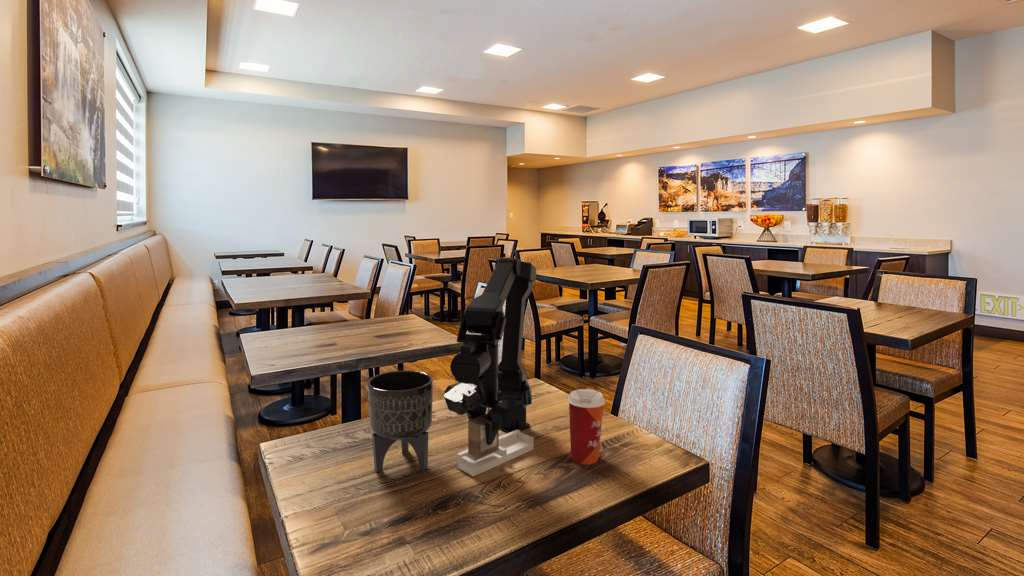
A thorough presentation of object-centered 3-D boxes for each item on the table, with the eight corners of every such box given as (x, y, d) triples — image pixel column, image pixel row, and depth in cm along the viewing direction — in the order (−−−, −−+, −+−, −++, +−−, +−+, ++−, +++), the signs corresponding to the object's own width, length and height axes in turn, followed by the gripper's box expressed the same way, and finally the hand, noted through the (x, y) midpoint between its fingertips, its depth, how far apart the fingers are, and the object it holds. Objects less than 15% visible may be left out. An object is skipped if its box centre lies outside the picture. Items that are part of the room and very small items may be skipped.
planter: (446, 456, 113) (445, 375, 111) (410, 485, 102) (407, 395, 99) (396, 444, 119) (394, 367, 116) (356, 470, 107) (352, 385, 104)
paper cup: (602, 469, 108) (604, 402, 106) (564, 465, 110) (565, 399, 108) (603, 451, 116) (606, 389, 114) (568, 448, 118) (569, 386, 115)
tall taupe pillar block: (478, 458, 106) (478, 424, 105) (468, 453, 108) (468, 420, 107) (498, 449, 110) (499, 417, 109) (488, 444, 112) (488, 412, 111)
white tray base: (457, 467, 109) (456, 453, 108) (517, 442, 120) (517, 429, 120) (473, 476, 105) (473, 462, 105) (533, 449, 117) (533, 436, 116)
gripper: (422, 365, 108) (423, 439, 110) (484, 388, 94) (484, 472, 97) (465, 354, 115) (466, 423, 118) (528, 374, 102) (527, 452, 104)
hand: (483, 441), depth 109 cm, fingers closed on tall taupe pillar block, 3 cm apart
